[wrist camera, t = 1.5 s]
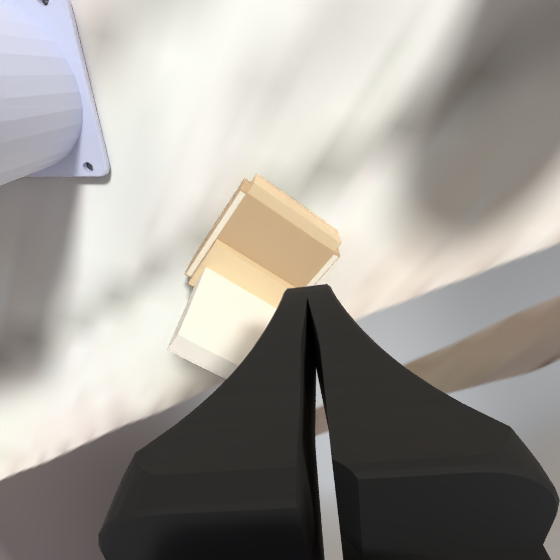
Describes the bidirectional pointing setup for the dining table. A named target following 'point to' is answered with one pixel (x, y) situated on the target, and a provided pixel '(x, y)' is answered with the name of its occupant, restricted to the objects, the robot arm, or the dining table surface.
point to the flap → (226, 310)
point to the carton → (274, 234)
